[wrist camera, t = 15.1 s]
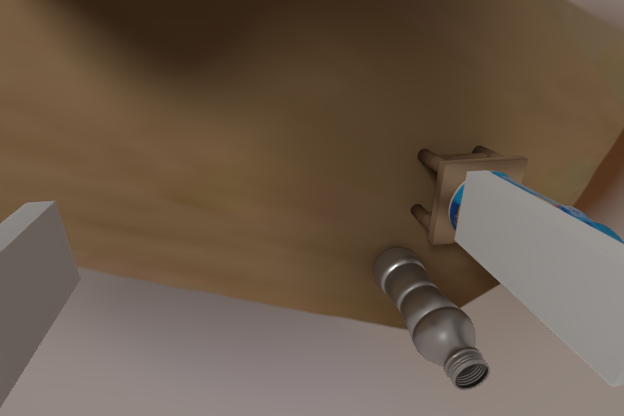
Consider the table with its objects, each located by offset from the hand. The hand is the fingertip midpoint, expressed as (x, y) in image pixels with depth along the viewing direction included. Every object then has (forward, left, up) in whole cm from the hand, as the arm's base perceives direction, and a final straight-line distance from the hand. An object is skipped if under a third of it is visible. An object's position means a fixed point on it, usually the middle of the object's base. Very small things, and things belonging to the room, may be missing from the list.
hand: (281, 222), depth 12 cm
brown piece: (+12, +25, -31) cm, 41 cm away
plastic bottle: (+24, +18, -31) cm, 43 cm away
